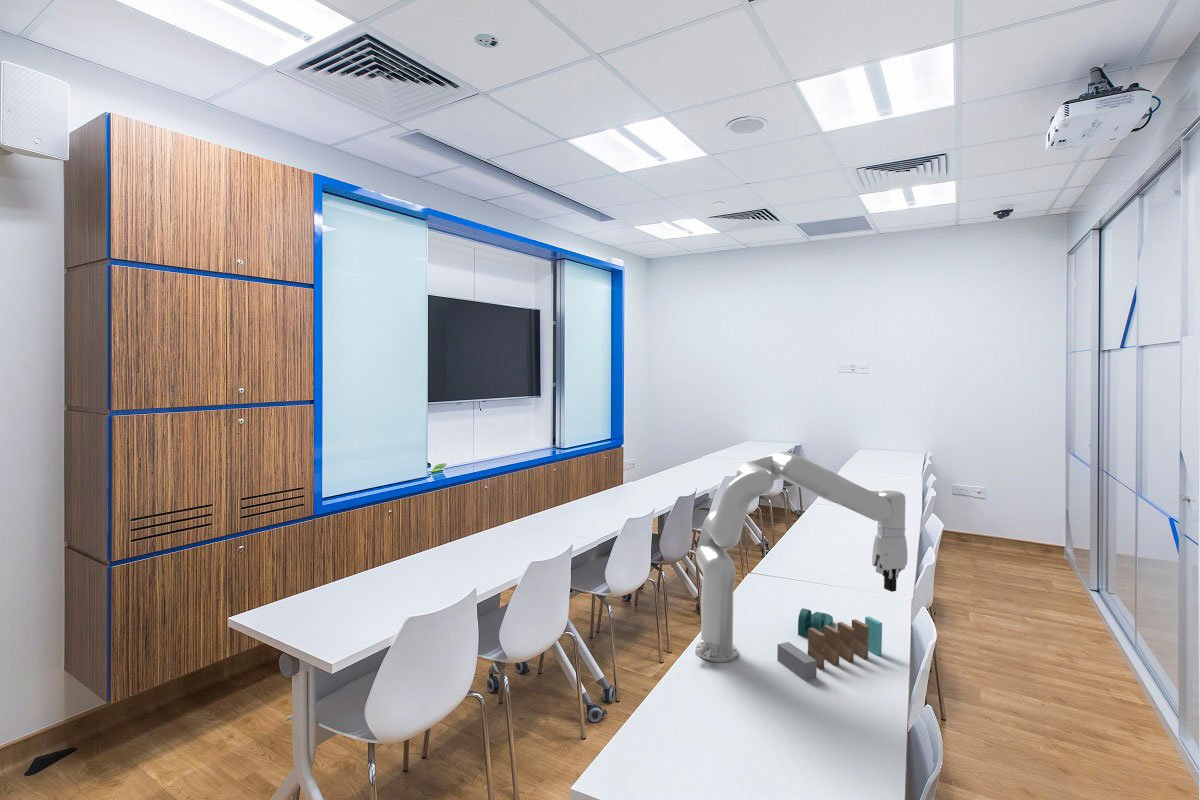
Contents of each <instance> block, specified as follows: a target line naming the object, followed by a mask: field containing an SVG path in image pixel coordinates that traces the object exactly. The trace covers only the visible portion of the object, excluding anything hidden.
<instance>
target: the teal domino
mask: <svg viewBox="0 0 1200 800" xmlns="http://www.w3.org/2000/svg"><path fill="white" fill-rule="evenodd" d="M864 624H866V625H868V626H869V634H868V652H870V653H871V654H873V655H875V656H877V657H879V656H880V657H881V656H882V653H883V652H882V649H883V648H882V647H883V642H882V641H883V622H882V621H879V620H877V619H876V618H873V617H871V616H865V618H864Z"/></svg>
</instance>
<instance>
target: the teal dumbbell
mask: <svg viewBox="0 0 1200 800" xmlns="http://www.w3.org/2000/svg"><path fill="white" fill-rule="evenodd" d="M797 619H798V621H797V636H799V635H800V637H804V638H806V637H807V639H808V628H814V629H816V630H818V631H819V632H821V633H823V626H824V625H829V626H831V627H833V625H834V617H833V616H832V615H831V614H828V613H826V612H819V611H815V612H813V613H812V610H811V609H808V608H803V607H802V608H801V609H800V610H799V613H798V618H797Z"/></svg>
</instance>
